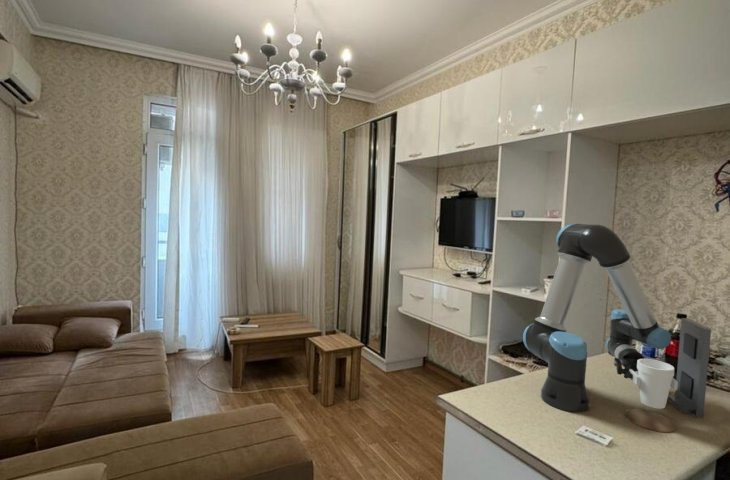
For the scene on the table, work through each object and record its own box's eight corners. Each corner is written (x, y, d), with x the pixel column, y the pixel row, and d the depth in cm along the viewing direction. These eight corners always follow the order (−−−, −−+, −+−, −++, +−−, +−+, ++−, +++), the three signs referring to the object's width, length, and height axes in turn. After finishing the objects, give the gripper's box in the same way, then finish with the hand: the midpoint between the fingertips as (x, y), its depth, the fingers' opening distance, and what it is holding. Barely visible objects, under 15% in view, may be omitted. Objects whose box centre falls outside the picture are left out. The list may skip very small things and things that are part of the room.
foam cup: (633, 393, 128) (636, 356, 127) (668, 401, 123) (671, 362, 122) (636, 405, 120) (639, 366, 119) (673, 414, 115) (676, 372, 114)
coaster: (634, 427, 117) (634, 425, 117) (619, 407, 130) (619, 406, 130) (684, 435, 113) (684, 434, 113) (664, 414, 126) (664, 412, 126)
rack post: (685, 415, 125) (692, 327, 123) (665, 396, 139) (671, 317, 137) (703, 418, 124) (711, 329, 122) (681, 399, 137) (688, 318, 135)
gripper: (664, 371, 137) (698, 400, 116) (595, 364, 144) (616, 389, 122) (665, 351, 137) (700, 376, 115) (596, 344, 143) (617, 367, 122)
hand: (656, 383), depth 119 cm, fingers closed on foam cup, 9 cm apart
